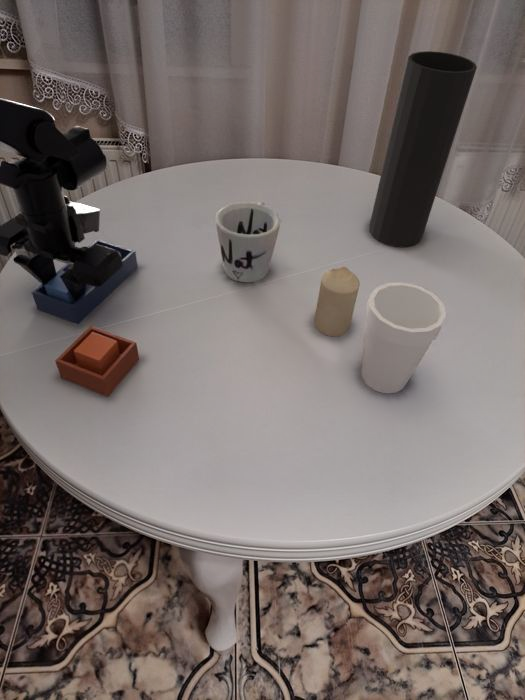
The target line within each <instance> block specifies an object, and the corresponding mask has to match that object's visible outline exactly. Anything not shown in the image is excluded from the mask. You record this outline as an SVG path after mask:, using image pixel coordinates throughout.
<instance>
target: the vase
mask: <svg viewBox="0 0 525 700" xmlns="http://www.w3.org/2000/svg"><path fill="white" fill-rule="evenodd" d="M405 65H406V66H405V70H404V74H403V79H402V83H401V86H400V91H399V96H398V100H397V104H396V108H395V113H394V118H393V122H392V126H391V130H390V135H389V139H388V142H387V147H386V151H385V157H384V161H383V165H382V169H381V174H380V176H379V177H380V178H379V182H378V187H377V190H376V195H375V199H374V203H373V208H372V212H371V215H370V216H371V217H370V221H369V225H368V228H369V229H368V231H369V233H370V235H371V237H373V238H374V239H375V240H377V241H378V242H380V243H382V244H384V245H387V246H392V247H395V248H407V247H413V246H416V245H417V244H418V243H420V242H421V240H422V239H423V236H424V233H425V230H426V227H427V223H428V221H429V217H430V214H431V212H432V208H433V205H434V202H435V199H436V196H437V192H438V190H439V187H440V183H441V181H442V177H443V174H444V172H445V168H446V165H447V162H448V159H449V155H450V153H451V149H452V147H453V143H454V140H455V136H456V134H457V130H458V128H459V124H460V122H461V118H462V114H463V113H464V109H465V106H466V103H467V99H468V96H469V94H470V90H471V87H472V83H473V81H474V78H475V75H476V72H477V69H478V67H477V64H476V62H474V61H472V60H471V59H468V58H467V57H464V56H461V55H458V54H455V53H450V52H449V53H448V52H443V51H432V50H430V51H429V50H427V51H425V50H424V51H416V52H412V53H411V54H410V55H408V58H407V61H406V64H405Z"/></svg>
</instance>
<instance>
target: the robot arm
mask: <svg viewBox="0 0 525 700" xmlns="http://www.w3.org/2000/svg"><path fill="white" fill-rule="evenodd" d="M55 121H56V120H55V117H54V115H52V114H51V113H50V112H49V111H48V110H45V109H42V108H39V107H35V106H33V105H32V106H31V105H28V104H25V103H20V102H17V101H14V100H10V99H7V98H4V97H0V151H4V152H6V153H9V154H13V155H16V156H19V157H22V158H20V159H18V160H16V161H13V162H9V161H6V160H2V161H1V162H0V185H1V186H4V187H7V188H9V189H12V191H13V193H14V197H15V200H16V203H17V207H18V209H19V213H18V214H17V215H15V216H14V217H12V218H10V219H9V220H8V221H7V220H6V222H4V223H2V224H1V225H0V256H3V257H8V256H10V255H11V253H12V252H13V250H14V252H15V255H16V256H14V257H13V259H12V260H13V262H14V263H15V264H17V265H18V266H20V267H21V268H22V269H24V270H25V271H26V272H27V273H28V274H29V275H31V276H32V277H33V278H34V279H35V280H37V281H38V283H40V285H41V284H42V285H43V286H44V287H45V284H47V283H48V282H49V281H50V280H52V279H53V278H54V277H55V276H56V275H57V274H56V272H57V270H56V266H55V265H56V264H55V261H57V262H61V263H64V264H67V263H68V264H69V265H70V266H68V268H69V269H68V270H67V271H66V272H64V273H63V274H62V275H61V276H60V278H61V280H62V281H63V283H64V284H65V286H66V288H67V289H68V291H69V292H70V294H71V296H72V297H73V299H74V300H75V301H77V300H78V299H79V298H81V297H82V296H83V295H84V293H85V289H86V284H88V285H91V286H94V287H98V286H102V285H103V284H104V283H105V282H106V281H107V280H108V279H109V278H111V277H112V276H113V275H114V274H115V273H116V272H117V271H118V270H119V269H120V268H121V267H123V263H122V257H121V253H120V252H119V251H117V250H114V249H111V248H108V247H104V246H101V245H98V244H94V245H93V246H91V247H90V248H89V247H88V246H82V247H79V246H76V244H77V243H78V244H79V243H82V242H83V241H84V240H85V239H86V237H85V235H86V234H88V233H92V232H94V233H98V232H100V219H101V210H100V208H97V207H94V206H90V205H87V204H84V203H80V202H75V201H70V200H69V197H68V196H66V195H64V191H63V189H64V190H66V191H75V190H76V191H77V189H79V188H80V187H82V186H84V185H85V184H87V183H89V182H91V181H92V180H94V179H96V178H97V177H98V176H100V175H102V174H103V173H104V172H105V171H106V170H107V165H108V164H107V163H108V161H107V156H106V154H104V152H103V149H102V147H101V146H100V145H99V143H98V142H96V140H95V139H93V138H92V137H91V133H90V129H89V128H86V127H82V126H79V125H76V126H74V127H72V128H70V129H69V130H68V131H66V132H64V133H62V132H61V130H59V129H58V128H57V127H56V123H55ZM54 260H55V261H54Z"/></svg>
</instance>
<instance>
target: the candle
mask: <svg viewBox="0 0 525 700" xmlns="http://www.w3.org/2000/svg"><path fill="white" fill-rule="evenodd" d="M360 285H361V281H360V279H359V277H358V276H357V275H356V274H355V273H353V271H351V270H350V269H349V268H348V267H346V266H341V267H338V268H332V269H329V270H327V271H325V272H324V273H323V274H322V275H321V280H320V284H319V290H318V297H317V302H316V308H315V314H314V321H313V322H314V323H313V324H314V327H315V329H316V330H317V331H318V332H319V333H320V334H323V335H325V336H328V337H340V336H343V335H345V334H347V332H348V331H349V329H350V328H351V327H350V326H351V323H352V318H353V315H354V311H355V306H356V302H357V299H358V298H357V297H358V293H359V290H360Z"/></svg>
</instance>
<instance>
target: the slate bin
mask: <svg viewBox="0 0 525 700" xmlns="http://www.w3.org/2000/svg"><path fill="white" fill-rule="evenodd" d="M94 244H98V245H101V246H104V247H108V248H111V249H114V250H117V251H119V252H120V253H121V257H122V263H123V267H121V268H120V269H119V270H118V271H117V272H116V273H115V274H114V275H113V276H112V277H111V278H109V279H108V280H107V281H106V282H105V283H104V284H103V285H102V286H98V287H94V286H91V285H88V284H86V289H87V292H86V293H85V294H84V295H83V296H82V297H81V298H79V299H78V300H77V301H76V302H75V303H74V304H73V305H72V304H70V303H67V302H64V301H61V300H58V299H56V298H53V297H50V296H48V295H47V292H46V289H45V287H44V286H43V285H42V284H41V283H40V285H39V286H38V287H36V288H35V289H34V290H33V291H31V295H32V297H33V298H32V299H33V301H34V304H35V307H36V310H37V311H39V312H43V313H45V314H48V315H50V316H52V317H53V316H54V317H56V318H59V319H62V320H64V321H67V322H70V323H73V324H75V325H79V324H81V323H82V321H84V319H86V318H87V317H88V316H89V315H90V314H91V313H92V312H93V311H94V310H95V309H96V308H97V307H98V306H99V305H100V304H101V303H103V301H105V300H106V298H108V297H109V296H110V295H111V294H112V293H113V292H114V291H116V289H117V288H118V287H120V285H122V283H123V282H124V281H126V280H127V278H129V277H130V276H131V275H132V274H133V273H134V272H135V271H136V270H137V269H138V259H137V253H136V250H133V249H131V248H127V247H124V246H121V245H118V244H114V243H111V242H108V241H106V240H101V239H99V238H98V239H96V240H94V241H93V242H92V243H91V244H89V245H88V246H87V247H89V248H90V247H91V246H93V245H94ZM68 266H70V265H69V264H68V263H65V265H63V266H62V267H61V268H60V269H59V270H56V274H57V275H58V274H59V273H60V272H61V271H64V272H66V271H67V270H68V269H69V268H68Z"/></svg>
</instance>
